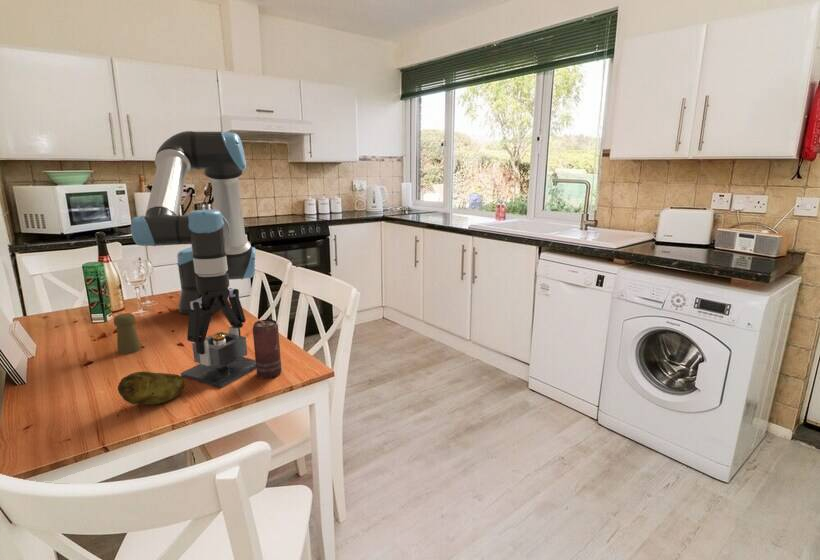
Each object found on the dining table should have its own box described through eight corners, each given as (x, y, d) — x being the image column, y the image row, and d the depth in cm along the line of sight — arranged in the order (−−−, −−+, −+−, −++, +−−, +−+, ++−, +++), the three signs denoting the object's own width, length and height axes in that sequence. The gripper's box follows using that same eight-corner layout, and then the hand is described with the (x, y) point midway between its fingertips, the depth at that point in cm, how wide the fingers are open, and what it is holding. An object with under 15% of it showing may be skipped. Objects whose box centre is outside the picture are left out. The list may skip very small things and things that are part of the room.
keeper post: (224, 355, 125) (220, 322, 122) (262, 365, 119) (259, 330, 117) (181, 376, 113) (175, 340, 110) (221, 388, 107) (216, 349, 104)
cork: (130, 355, 125) (123, 318, 122) (112, 353, 126) (105, 317, 124) (146, 346, 131) (140, 311, 128) (129, 345, 132) (123, 310, 129)
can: (268, 366, 119) (264, 317, 115) (286, 371, 116) (282, 320, 112) (251, 375, 113) (246, 324, 110) (269, 381, 111) (265, 328, 107)
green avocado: (188, 402, 101) (184, 370, 99) (121, 419, 94) (115, 384, 92) (184, 387, 107) (180, 356, 105) (122, 401, 101) (116, 369, 99)
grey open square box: (222, 348, 121) (220, 331, 120) (247, 354, 117) (245, 337, 116) (194, 361, 113) (192, 343, 112) (220, 368, 109) (218, 349, 108)
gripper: (234, 263, 120) (242, 340, 126) (161, 281, 101) (174, 371, 107) (255, 265, 117) (262, 344, 123) (183, 285, 98) (196, 377, 104)
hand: (221, 357), depth 115 cm, fingers closed on grey open square box, 9 cm apart
